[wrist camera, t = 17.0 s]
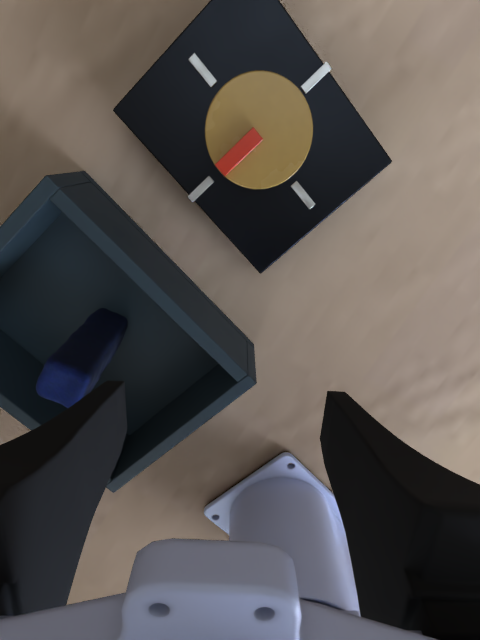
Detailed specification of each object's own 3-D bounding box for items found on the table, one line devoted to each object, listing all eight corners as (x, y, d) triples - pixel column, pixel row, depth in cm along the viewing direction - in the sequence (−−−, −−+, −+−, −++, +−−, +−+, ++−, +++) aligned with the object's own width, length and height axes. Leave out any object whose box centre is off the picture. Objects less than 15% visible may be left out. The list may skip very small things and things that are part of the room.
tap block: (377, 159, 21) (396, 160, 19) (257, 263, 23) (259, 276, 21) (249, -21, 18) (250, -48, 16) (125, 116, 20) (109, 111, 18)
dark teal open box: (254, 344, 25) (257, 383, 21) (132, 441, 28) (113, 493, 24) (84, 170, 21) (45, 174, 17) (-37, 302, 24) (-97, 334, 20)
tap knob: (259, 62, 17) (265, 39, 14) (318, 139, 18) (336, 136, 15) (192, 132, 18) (180, 127, 15) (251, 201, 19) (254, 212, 16)
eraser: (118, 349, 25) (76, 416, 18) (83, 332, 24) (28, 395, 18) (133, 320, 24) (95, 379, 18) (97, 302, 23) (45, 356, 17)
